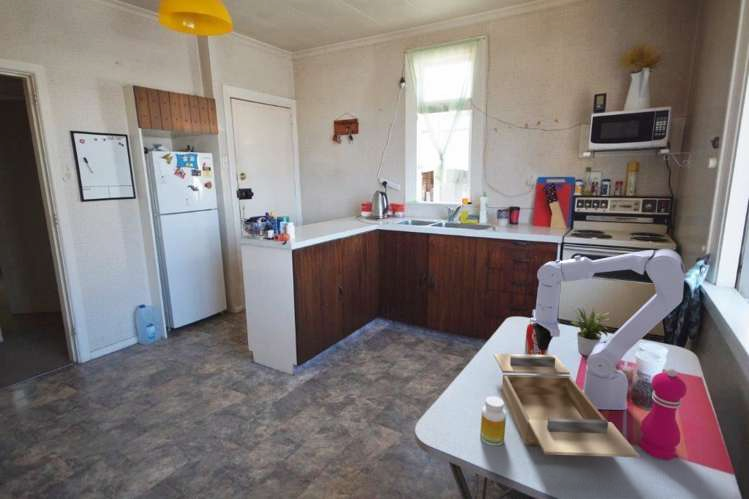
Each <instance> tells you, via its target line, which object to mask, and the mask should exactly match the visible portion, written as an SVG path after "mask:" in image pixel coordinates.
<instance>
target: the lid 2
mask: <svg viewBox="0 0 749 499" xmlns="http://www.w3.org/2000/svg"><path fill="white" fill-rule="evenodd" d="M606 420H607V419H606ZM606 420H589V419H556V418H548V420H528V423H529V424H530V426H531V428H532V430H533V432H534V434H535V436H536V438H537V440H538V442H539V444H540V446H539V447H540V448H541V450H542V451H543V453H544V455H557V456H558V455H559V456H583V457H586V456H591V457H619V458H622V457H623V458H639V455H640V454H639V453H638V452H637V451H636V450H635V449H634V447H633V446H632V445H631V444H630V443H629V441H628V440H627V438H625V437H624V436H623V434H622V433H621V432H620V431H619V429H618V428H617V427H616V426H615V424H614V423H613V422H612V421H608V420H607V421H606Z"/></svg>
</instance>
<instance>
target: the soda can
mask: <svg viewBox="0 0 749 499" xmlns="http://www.w3.org/2000/svg"><path fill="white" fill-rule="evenodd" d="M533 323H535V322H532V321H531V320H530V321H529V323H528V324H527V325H526V326H527V327H526V331H525V332H526V333H525V342H524V354H529V355H549V354H548V353H549V348H550V345H549V346H548V348H547V350H539V349H538V346H537V338H536V333H535V330H534V327H533V325H532V324H533Z"/></svg>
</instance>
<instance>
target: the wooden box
mask: <svg viewBox="0 0 749 499" xmlns="http://www.w3.org/2000/svg"><path fill="white" fill-rule="evenodd" d="M501 396H502V398H503V402H505V403H504V404H505V405H506V407H507V409H508V411H509V413H510V415H511V418H512V420H513V422H514V424H515V427H516V428H517V430H518V433H519V434H520V437H521V439H522V441H523V444H524V445H525V446H539V447H541V446H540V444H539V442H538V440H537V438H536V436H535V434H534V432H533V430H532V428H531V426H530V424H529V423H528V420H548V418H556V419H589V420H606V421H607V422H608V420H607V419H606V418H605V417H604V415H603V414H602V413H601V412H600V411H599V409H597V408H596V407H595V406H594V405H593V403H592V402H591V401H590V400H589V399H588V397H587V396H586V395H585V394H584V392H583V391H582V389H581V388H580V387H579V384H577V383H576V381H574V379H573V378H572V377H571V376H570V375H541V374H539V375H538V374H531V375H529V374H502V383H501Z"/></svg>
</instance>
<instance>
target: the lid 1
mask: <svg viewBox="0 0 749 499" xmlns="http://www.w3.org/2000/svg"><path fill="white" fill-rule="evenodd" d="M493 357H494V359H495V361H496V362H497V364H498V367H499V369H500V370H501V372H502V373H504V374H528V375H529V374H531V375H538V374H539V375H568V376H570V375H571V372H570V371H569V370H568V369H567V367H566V366H565V364H563V363H562V361H561V360H560V359H559V358H558V356H557V355H555V354H547V355H529V354H525V353H524V354H523V353H521V354H520V353H519V354H518V353H493Z"/></svg>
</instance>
